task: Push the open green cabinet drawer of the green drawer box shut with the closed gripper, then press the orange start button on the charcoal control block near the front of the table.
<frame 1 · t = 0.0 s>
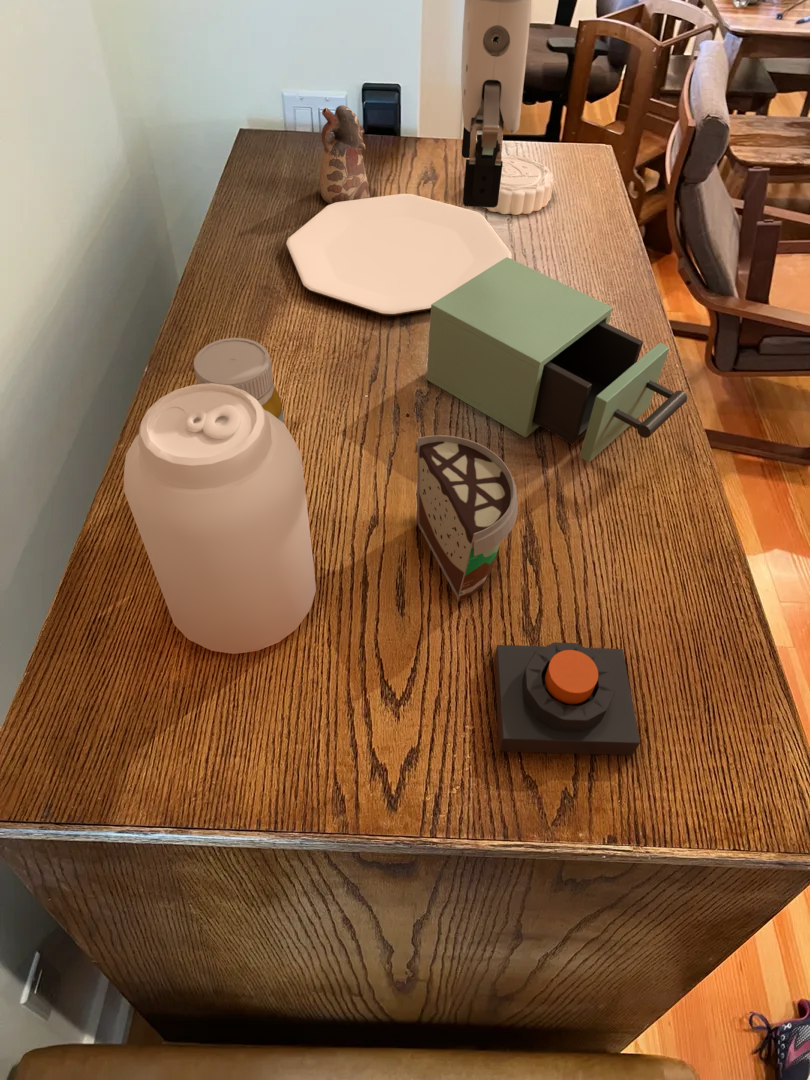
hand: (478, 180, 73), 20 cm above the cabinet, tool pointing down, fingers open, 9 cm apart
bottle: (255, 488, 74), on the cabinet
can: (244, 596, 66), on the cabinet
start button: (571, 676, 56), point 4 cm above the cabinet, slide at 0.1 cm
figurine: (344, 196, 111), on the cabinet
food container: (468, 552, 70), on the cabinet
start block: (560, 705, 60), on the cabinet
green drawer box: (510, 381, 85), on the cabinet
plate: (398, 259, 101), on the cabinet
green cabinet drawer: (593, 386, 77), point 5 cm above the cabinet, slide at 6.0 cm
mooncake: (509, 196, 112), on the cabinet
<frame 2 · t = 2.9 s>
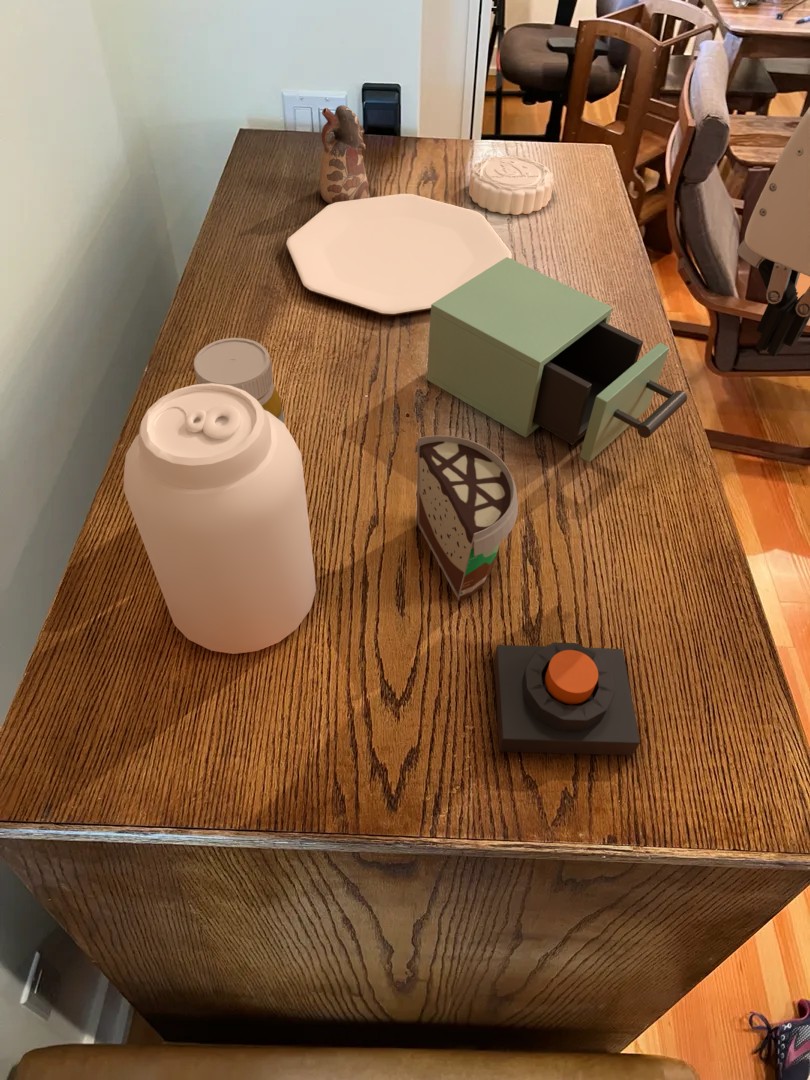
hand: (772, 345, 62), 17 cm above the cabinet, tool pointing down, fingers closed
nothing on the cabinet moved.
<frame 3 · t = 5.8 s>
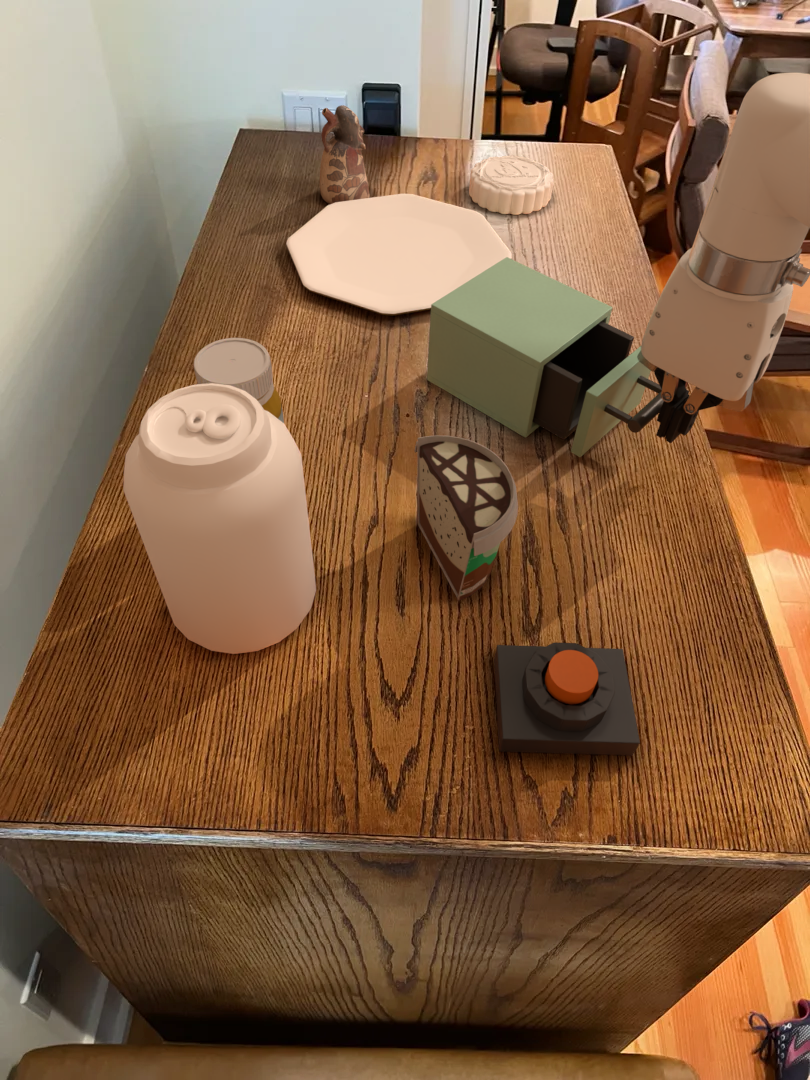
hand: (670, 432, 74), 4 cm above the cabinet, tool pointing down, fingers closed
green cabinet drawer: (584, 381, 78), point 5 cm above the cabinet, slide at 4.9 cm, touching gripper
everything else where it was.
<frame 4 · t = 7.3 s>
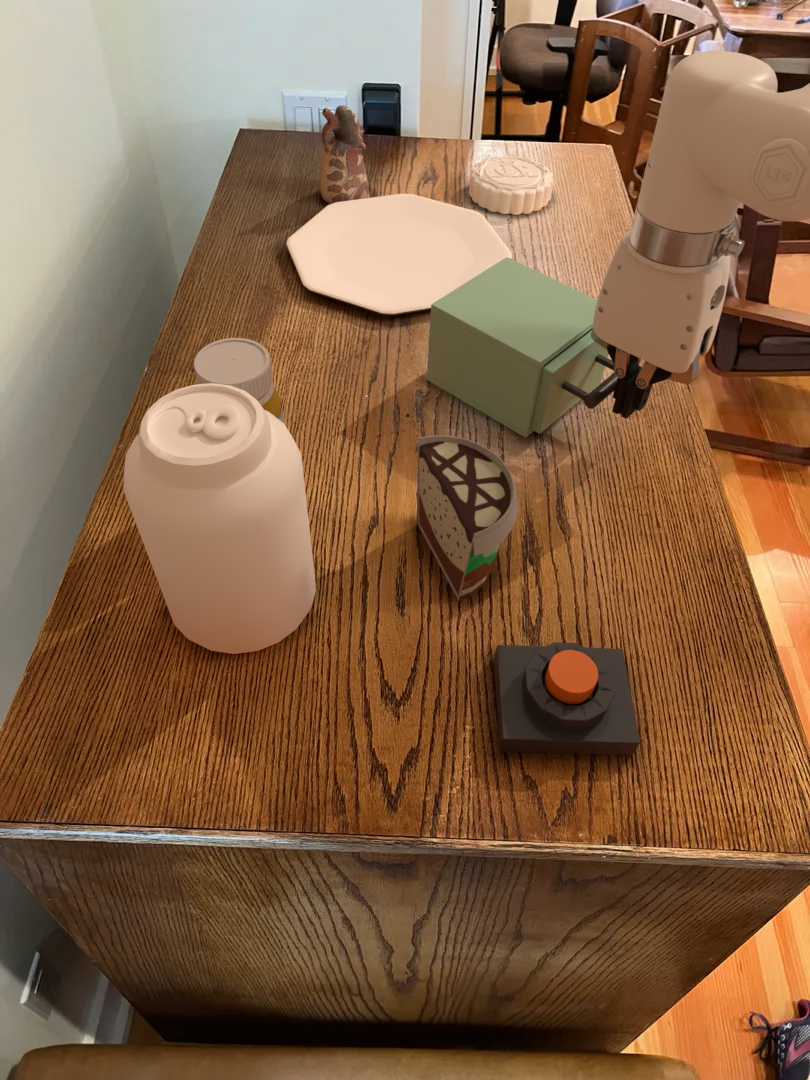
hand: (626, 408, 76), 4 cm above the cabinet, tool pointing down, fingers closed
green cabinet drawer: (545, 360, 80), point 5 cm above the cabinet, slide at 0.0 cm, touching green drawer box, gripper
everything else where it was.
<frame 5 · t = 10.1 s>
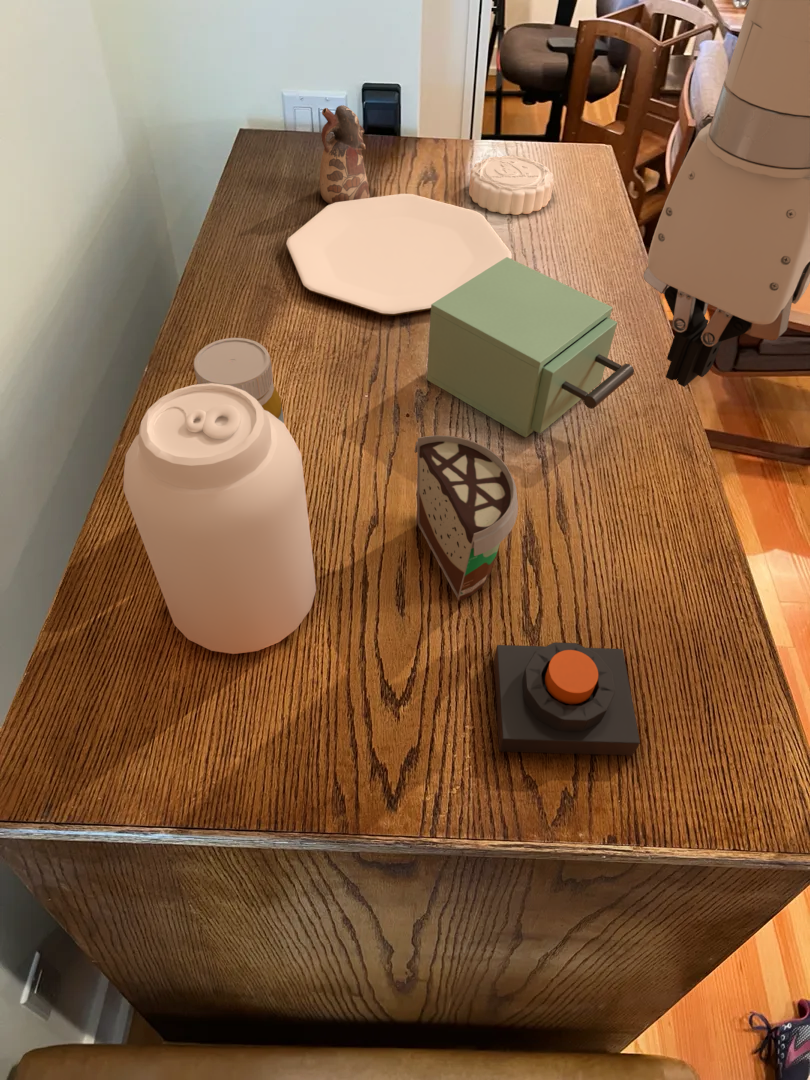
hand: (684, 374, 59), 17 cm above the cabinet, tool pointing down, fingers closed
green cabinet drawer: (545, 360, 80), point 5 cm above the cabinet, slide at 0.0 cm, touching green drawer box
everything else where it was.
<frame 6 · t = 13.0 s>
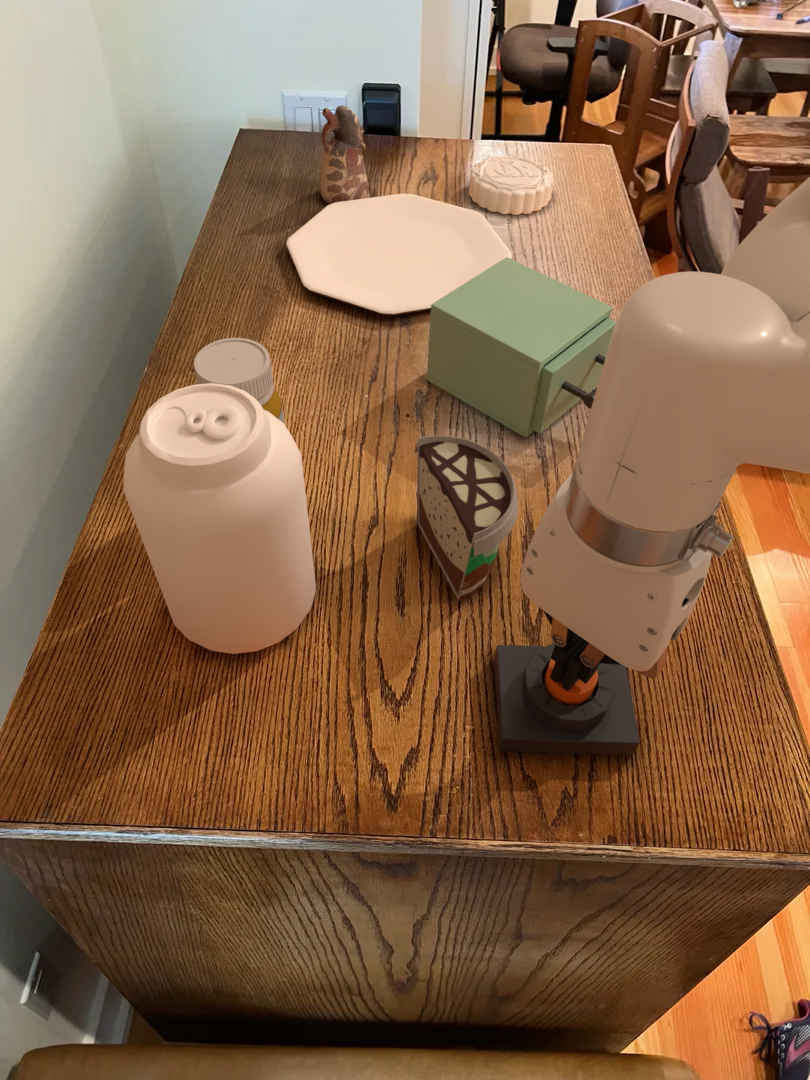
hand: (570, 671, 56), 5 cm above the cabinet, tool pointing down, fingers closed
start button: (570, 677, 57), point 4 cm above the cabinet, slide at -0.1 cm, touching gripper
everything else where it was.
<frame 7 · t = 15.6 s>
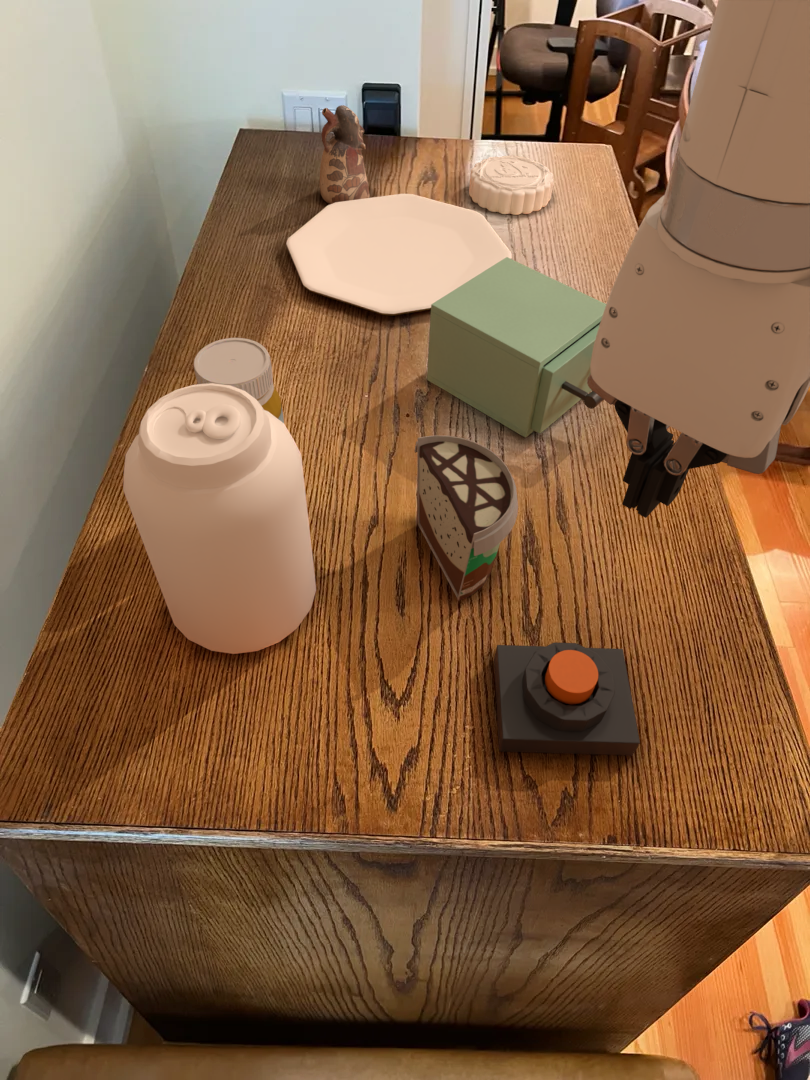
hand: (646, 498, 46), 20 cm above the cabinet, tool pointing down, fingers closed
start button: (571, 676, 56), point 4 cm above the cabinet, slide at 0.1 cm
everything else where it was.
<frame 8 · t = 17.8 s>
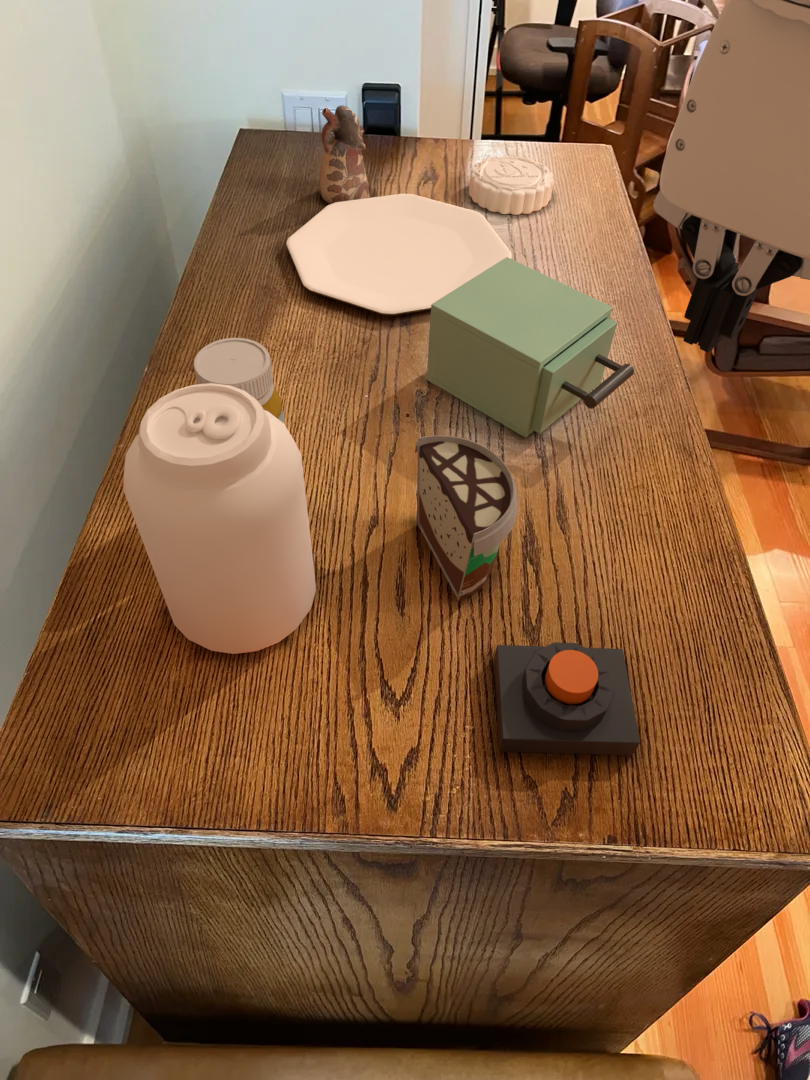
hand: (707, 336, 46), 27 cm above the cabinet, tool pointing down, fingers closed
nothing on the cabinet moved.
at the end: green cabinet drawer slide at 0.0 cm; start button pushed in 1.1 cm at the most during the clip, back to where it started at the end; start button slide at 0.1 cm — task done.
